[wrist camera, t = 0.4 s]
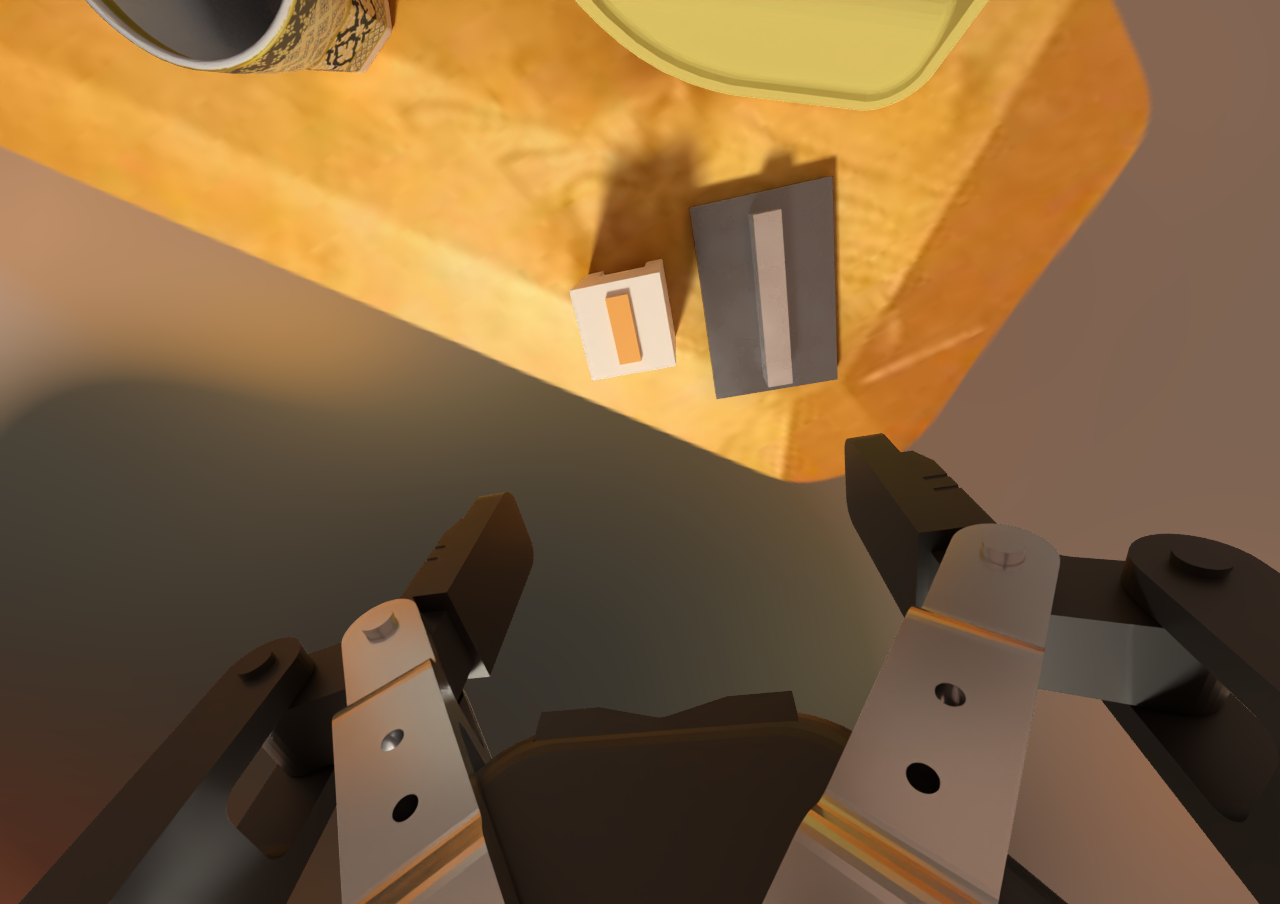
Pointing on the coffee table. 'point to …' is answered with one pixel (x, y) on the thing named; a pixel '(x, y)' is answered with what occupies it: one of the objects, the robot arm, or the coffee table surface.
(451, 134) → the coffee table surface
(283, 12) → the ceramic cup
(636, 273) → the block
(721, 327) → the panel
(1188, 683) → the robot arm
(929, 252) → the coffee table surface
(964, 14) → the plastic component
